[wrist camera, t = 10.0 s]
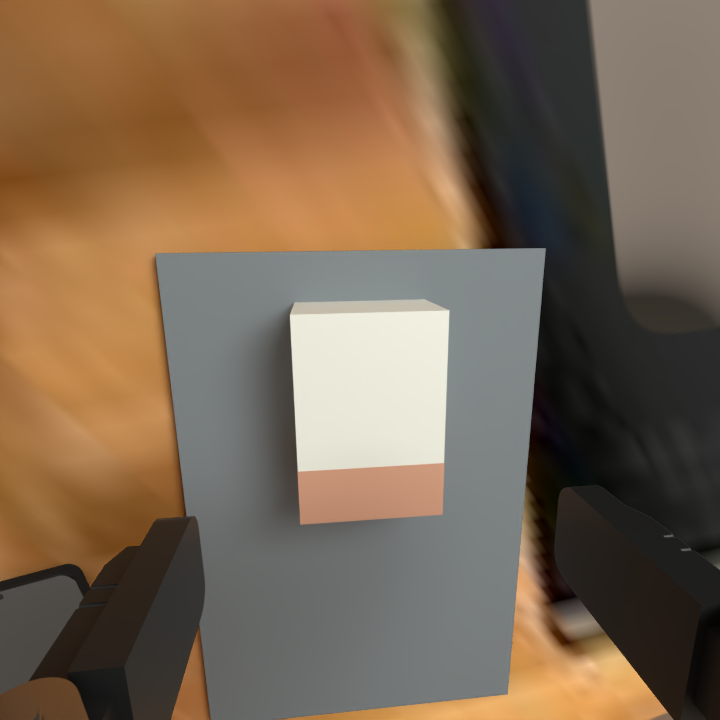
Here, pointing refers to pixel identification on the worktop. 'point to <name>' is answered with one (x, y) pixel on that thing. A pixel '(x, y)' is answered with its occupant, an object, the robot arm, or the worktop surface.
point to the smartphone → (35, 618)
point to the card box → (369, 408)
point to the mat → (350, 538)
